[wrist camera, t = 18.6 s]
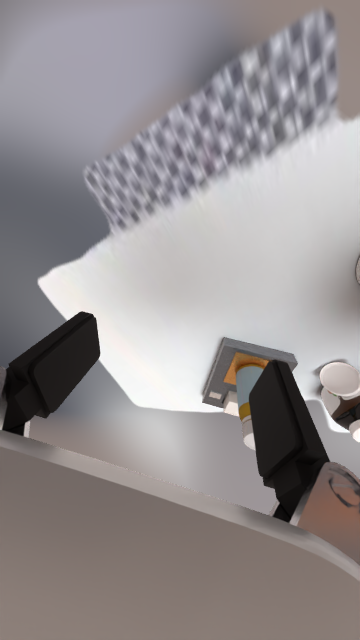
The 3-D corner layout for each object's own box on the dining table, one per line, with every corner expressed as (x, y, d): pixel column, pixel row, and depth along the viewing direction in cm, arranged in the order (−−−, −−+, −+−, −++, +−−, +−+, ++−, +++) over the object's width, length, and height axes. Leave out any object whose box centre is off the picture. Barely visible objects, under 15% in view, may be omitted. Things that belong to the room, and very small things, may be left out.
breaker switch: (247, 389, 49) (249, 406, 45) (240, 400, 52) (242, 417, 47) (228, 384, 49) (229, 401, 45) (223, 395, 52) (223, 412, 48)
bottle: (229, 374, 44) (232, 440, 31) (248, 357, 40) (260, 425, 28) (253, 387, 45) (265, 457, 32) (274, 371, 41) (297, 444, 28)
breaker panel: (293, 354, 41) (299, 366, 38) (256, 408, 53) (258, 420, 50) (223, 337, 43) (224, 347, 39) (203, 393, 55) (202, 405, 51)
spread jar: (340, 401, 46) (372, 453, 36) (297, 385, 46) (318, 433, 36) (382, 371, 39) (435, 425, 29) (333, 353, 39) (369, 401, 30)
